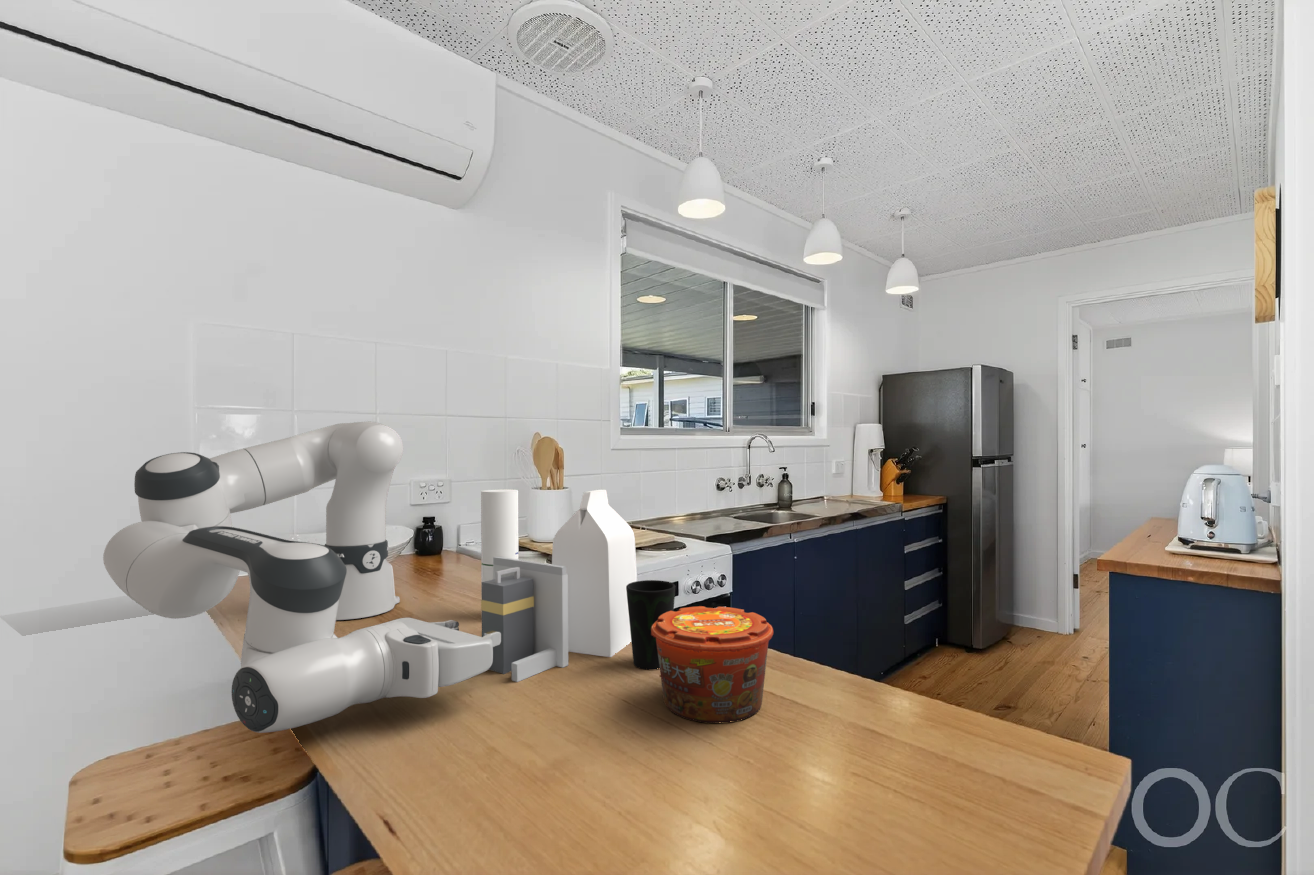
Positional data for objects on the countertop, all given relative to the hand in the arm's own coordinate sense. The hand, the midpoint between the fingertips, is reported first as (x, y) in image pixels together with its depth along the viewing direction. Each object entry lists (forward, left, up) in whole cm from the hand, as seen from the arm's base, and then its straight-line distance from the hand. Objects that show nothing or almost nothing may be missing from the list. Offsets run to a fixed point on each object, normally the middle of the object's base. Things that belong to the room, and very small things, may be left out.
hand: (476, 631), depth 89 cm
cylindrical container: (-22, +23, -7) cm, 33 cm away
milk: (+4, +22, -7) cm, 24 cm away
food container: (+33, +12, -7) cm, 35 cm away
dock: (0, +6, -7) cm, 9 cm away
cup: (+18, +19, -7) cm, 27 cm away
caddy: (0, +6, -7) cm, 9 cm away
